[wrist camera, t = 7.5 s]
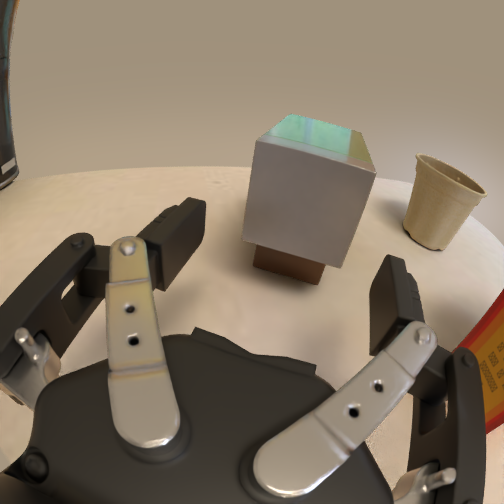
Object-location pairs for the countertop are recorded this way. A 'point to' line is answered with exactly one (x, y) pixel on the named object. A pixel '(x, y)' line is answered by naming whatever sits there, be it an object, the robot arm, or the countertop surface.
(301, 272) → the riser
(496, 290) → the countertop surface
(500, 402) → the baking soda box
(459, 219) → the flower pot
